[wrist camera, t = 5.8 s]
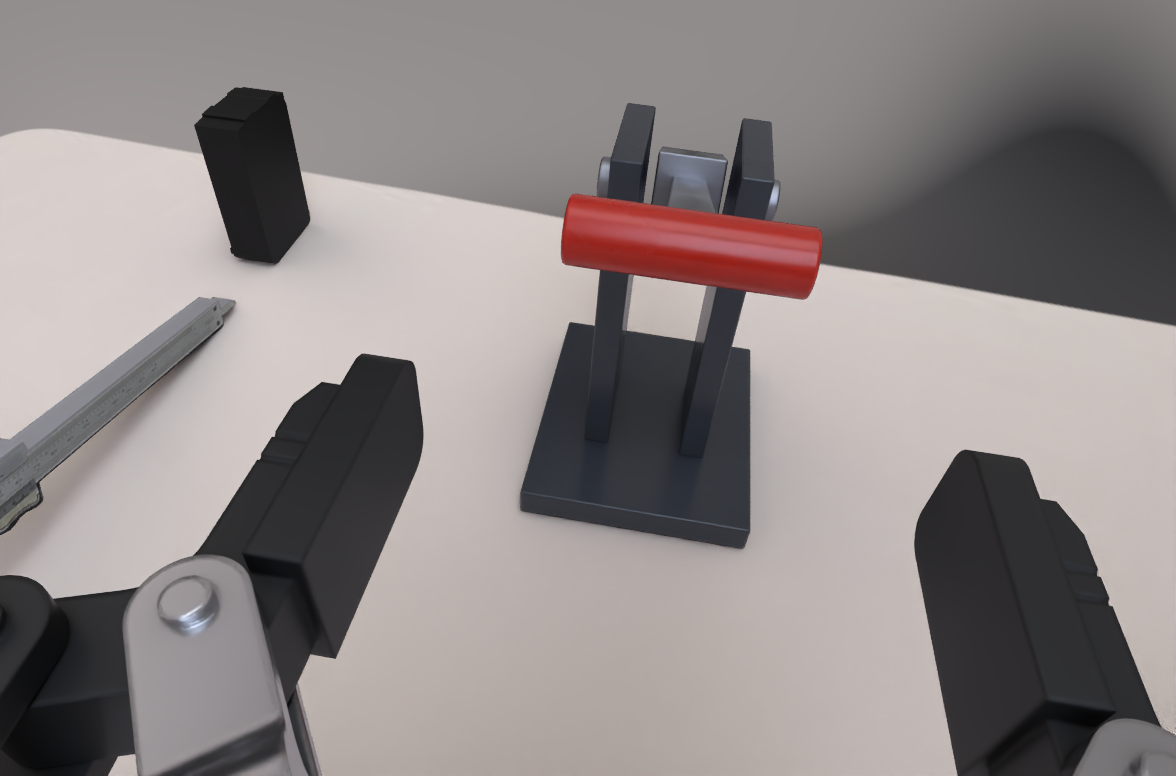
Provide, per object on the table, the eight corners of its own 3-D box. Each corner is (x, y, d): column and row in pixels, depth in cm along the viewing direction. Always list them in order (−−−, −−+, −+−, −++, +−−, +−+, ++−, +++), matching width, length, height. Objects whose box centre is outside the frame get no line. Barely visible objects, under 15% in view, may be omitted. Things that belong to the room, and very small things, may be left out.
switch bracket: (744, 549, 29) (853, 251, 20) (519, 511, 30) (521, 203, 20) (745, 367, 37) (823, 91, 28) (568, 339, 38) (585, 60, 28)
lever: (804, 332, 15) (834, 208, 14) (554, 294, 15) (568, 171, 14) (750, 229, 27) (764, 159, 26) (613, 209, 27) (622, 141, 26)
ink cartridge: (274, 216, 44) (240, 80, 39) (311, 221, 44) (282, 86, 39) (233, 261, 41) (189, 119, 35) (273, 267, 41) (235, 125, 35)
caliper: (-79, 700, 23) (-215, 591, 19) (-113, 694, 23) (-255, 584, 19) (238, 308, 38) (203, 197, 34) (217, 305, 38) (180, 194, 34)
